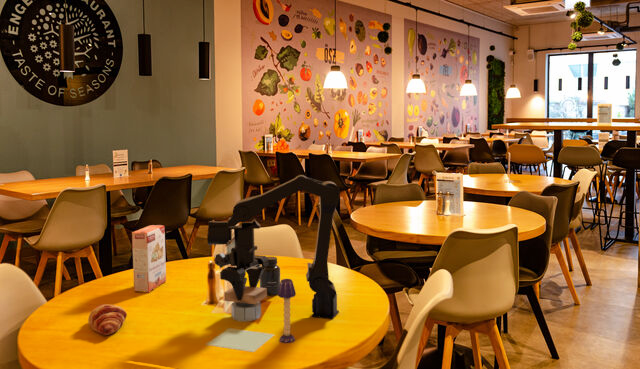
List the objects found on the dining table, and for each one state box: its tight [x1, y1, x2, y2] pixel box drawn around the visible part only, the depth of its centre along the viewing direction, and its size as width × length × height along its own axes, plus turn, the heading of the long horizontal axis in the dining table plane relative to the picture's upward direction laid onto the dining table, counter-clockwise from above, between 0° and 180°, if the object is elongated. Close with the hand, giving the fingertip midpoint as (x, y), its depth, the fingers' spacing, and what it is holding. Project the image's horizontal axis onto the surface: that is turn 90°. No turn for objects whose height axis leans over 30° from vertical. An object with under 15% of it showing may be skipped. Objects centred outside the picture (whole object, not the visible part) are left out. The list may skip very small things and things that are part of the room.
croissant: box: [88, 303, 128, 336], centre depth 160 cm, size 21×10×8 cm, turn 23°
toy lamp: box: [277, 278, 297, 344], centre depth 146 cm, size 5×5×17 cm
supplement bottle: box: [259, 256, 281, 297], centre depth 188 cm, size 7×7×12 cm
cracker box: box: [131, 224, 167, 293], centre depth 196 cm, size 14×6×21 cm, turn 171°
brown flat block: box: [223, 285, 268, 304], centre depth 164 cm, size 10×7×2 cm
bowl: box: [230, 301, 262, 322], centre depth 165 cm, size 8×8×4 cm
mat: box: [204, 327, 276, 353], centre depth 148 cm, size 14×12×1 cm
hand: (246, 296), depth 164 cm, fingers closed on brown flat block, 7 cm apart
